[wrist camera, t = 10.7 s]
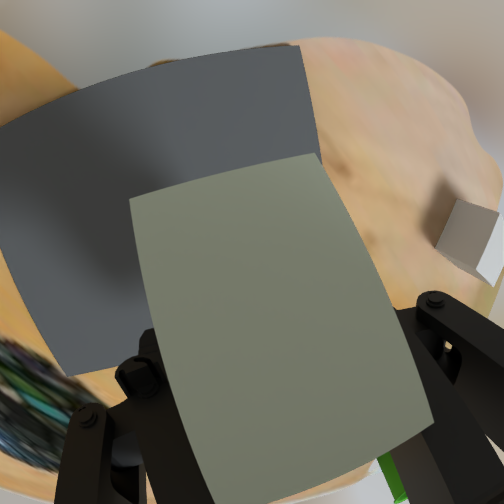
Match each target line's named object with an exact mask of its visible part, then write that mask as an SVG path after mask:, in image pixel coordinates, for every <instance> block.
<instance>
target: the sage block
mask: <svg viewBox="0 0 504 504" xmlns="http://www.w3.org/2000/svg"><path fill="white" fill-rule="evenodd" d="M129 202H130V209H131V215H132V222H133V228H134V234H135V240H136V246H137V252H138V257H139V262H140V268H141V273H142V278H143V282H144V287H145V292H146V296H147V301H148V305H149V309H150V314H151V318H152V322H153V326H154V330H155V334H156V338H157V341H158V345H159V349H160V352H161V356H162V360H163V363H164V367H165V370H166V373H167V377H168V380H169V383H170V387H171V390H172V393H173V396H174V399H175V402H176V405H177V408H178V411H179V414H180V417H181V420H182V423H183V426H184V428H185V431H186V434H187V437H188V439H189V442H190V445H191V447H192V450H193V453H194V455H195V458H196V460H197V463H198V465H199V468H200V470H201V473H202V475H203V477H204V480H205V482H206V484H207V487H208V489H209V491H210V493H211V496H212V498H213V500H214V502H215V504H266V503H270V502H273V501H276V500H279V499H282V498H285V497H288V496H291V495H294V494H297V493H300V492H302V491H305V490H308V489H310V488H313V487H315V486H318V485H320V484H323V483H325V482H327V481H330V480H332V479H334V478H337V477H339V476H341V475H343V474H345V473H347V472H350V471H352V470H354V469H356V468H358V467H360V466H362V465H364V464H366V463H368V462H370V461H372V460H373V459H375V458H377V457H379V456H381V455H383V454H385V453H386V452H388V451H390V450H392V449H393V448H395V447H397V446H398V445H400V444H402V443H403V442H405V441H407V440H408V439H410V438H411V437H413V436H415V435H416V434H418V433H419V432H421V431H422V430H424V429H425V428H427V427H428V426H430V425H431V424H433V423H434V420H433V417H432V413H431V410H430V407H429V403H428V400H427V397H426V394H425V391H424V388H423V385H422V382H421V379H420V376H419V373H418V370H417V367H416V365H415V362H414V359H413V356H412V354H411V351H410V348H409V346H408V343H407V340H406V338H405V335H404V333H403V330H402V328H401V325H400V323H399V320H398V318H397V315H396V313H395V311H394V308H393V306H392V304H391V301H390V299H389V297H388V294H387V292H386V290H385V287H384V285H383V283H382V281H381V279H380V276H379V274H378V272H377V270H376V268H375V265H374V263H373V261H372V259H371V257H370V255H369V253H368V251H367V249H366V247H365V245H364V243H363V241H362V239H361V237H360V235H359V233H358V231H357V229H356V227H355V225H354V223H353V221H352V219H351V217H350V215H349V213H348V211H347V209H346V207H345V206H344V204H343V202H342V200H341V198H340V196H339V194H338V193H337V191H336V189H335V187H334V185H333V184H332V182H331V180H330V178H329V177H328V175H327V173H326V171H325V170H324V168H323V166H322V164H321V163H320V161H319V159H318V158H317V156H316V154H315V153H310V154H305V155H300V156H295V157H290V158H285V159H280V160H275V161H271V162H266V163H261V164H257V165H253V166H248V167H244V168H240V169H235V170H231V171H227V172H223V173H219V174H215V175H211V176H207V177H203V178H200V179H196V180H192V181H188V182H185V183H181V184H178V185H174V186H171V187H167V188H164V189H160V190H157V191H153V192H150V193H147V194H144V195H140V196H137V197H134V198H131V199H129Z"/></svg>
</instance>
